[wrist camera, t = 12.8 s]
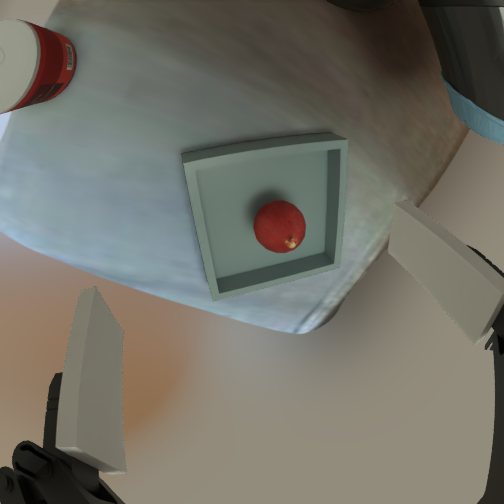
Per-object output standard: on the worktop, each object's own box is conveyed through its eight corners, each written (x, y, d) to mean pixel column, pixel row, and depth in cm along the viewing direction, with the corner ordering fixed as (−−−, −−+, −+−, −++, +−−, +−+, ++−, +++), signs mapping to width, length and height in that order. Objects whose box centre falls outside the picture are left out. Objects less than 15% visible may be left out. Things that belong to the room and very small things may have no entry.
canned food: (47, 22, 17) (0, 3, 8) (92, 57, 21) (57, 47, 13) (5, 79, 18) (-51, 88, 10) (48, 115, 23) (0, 134, 14)
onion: (298, 200, 36) (330, 230, 30) (277, 238, 38) (302, 275, 32) (259, 183, 34) (285, 212, 27) (237, 225, 36) (257, 262, 29)
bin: (330, 132, 33) (348, 139, 30) (326, 252, 44) (339, 267, 40) (181, 153, 30) (183, 163, 27) (207, 282, 40) (212, 301, 37)
